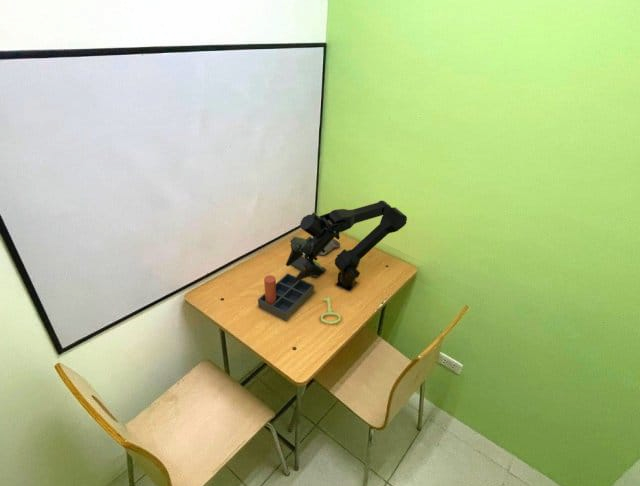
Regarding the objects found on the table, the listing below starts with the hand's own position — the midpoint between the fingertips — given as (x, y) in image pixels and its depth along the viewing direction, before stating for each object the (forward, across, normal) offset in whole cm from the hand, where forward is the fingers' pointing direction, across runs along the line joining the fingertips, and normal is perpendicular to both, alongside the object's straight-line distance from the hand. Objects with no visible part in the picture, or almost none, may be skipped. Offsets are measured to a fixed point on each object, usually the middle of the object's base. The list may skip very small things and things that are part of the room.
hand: (291, 272), depth 134 cm
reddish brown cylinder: (+15, 0, +3) cm, 15 cm away
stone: (-8, -26, +28) cm, 39 cm away
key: (+2, +12, +17) cm, 21 cm away
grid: (+10, 0, +8) cm, 13 cm away
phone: (0, -16, +19) cm, 25 cm away
